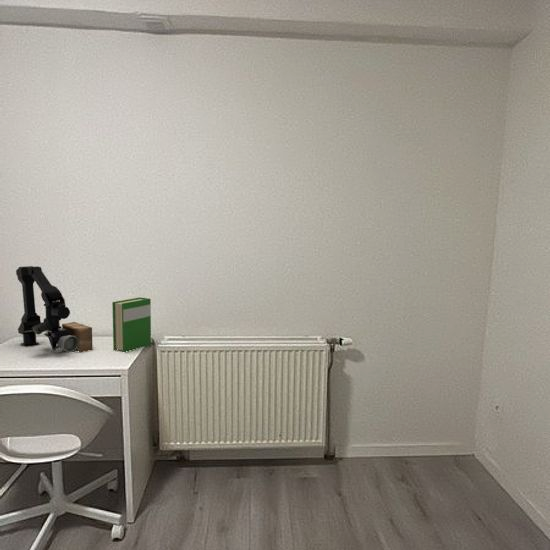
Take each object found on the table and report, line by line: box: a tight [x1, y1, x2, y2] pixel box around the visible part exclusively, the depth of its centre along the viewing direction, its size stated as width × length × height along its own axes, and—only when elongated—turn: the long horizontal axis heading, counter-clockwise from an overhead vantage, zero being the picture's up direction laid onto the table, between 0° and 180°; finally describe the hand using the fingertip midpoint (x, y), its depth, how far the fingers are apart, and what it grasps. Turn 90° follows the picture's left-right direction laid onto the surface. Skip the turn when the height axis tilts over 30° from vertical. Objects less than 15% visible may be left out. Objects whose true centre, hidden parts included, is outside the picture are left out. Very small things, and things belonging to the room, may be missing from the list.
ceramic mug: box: [51, 335, 79, 354], centre depth 205 cm, size 11×8×8 cm
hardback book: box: [111, 297, 152, 353], centre depth 212 cm, size 18×7×24 cm, turn 151°
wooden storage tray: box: [61, 321, 94, 353], centre depth 210 cm, size 18×6×11 cm, turn 51°
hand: (53, 348), depth 202 cm, fingers closed
